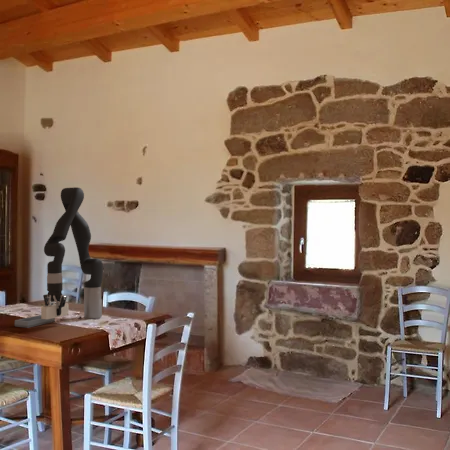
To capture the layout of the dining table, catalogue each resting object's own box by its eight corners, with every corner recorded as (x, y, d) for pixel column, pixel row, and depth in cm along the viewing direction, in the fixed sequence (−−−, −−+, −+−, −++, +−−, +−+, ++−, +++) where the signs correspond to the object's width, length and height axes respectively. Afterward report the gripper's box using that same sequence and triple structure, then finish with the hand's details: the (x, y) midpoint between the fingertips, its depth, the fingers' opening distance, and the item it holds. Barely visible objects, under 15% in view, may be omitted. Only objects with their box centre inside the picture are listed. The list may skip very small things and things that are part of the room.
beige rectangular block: (63, 314, 278) (63, 302, 278) (68, 314, 276) (68, 303, 276) (41, 318, 266) (41, 306, 266) (46, 319, 264) (46, 307, 264)
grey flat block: (42, 320, 288) (42, 314, 288) (54, 321, 285) (54, 315, 285) (14, 326, 271) (14, 320, 271) (27, 327, 267) (27, 321, 267)
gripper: (70, 281, 271) (70, 315, 272) (49, 280, 277) (49, 312, 278) (60, 283, 265) (60, 317, 265) (38, 281, 271) (39, 315, 271)
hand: (55, 314), depth 271 cm, fingers closed on beige rectangular block, 4 cm apart
